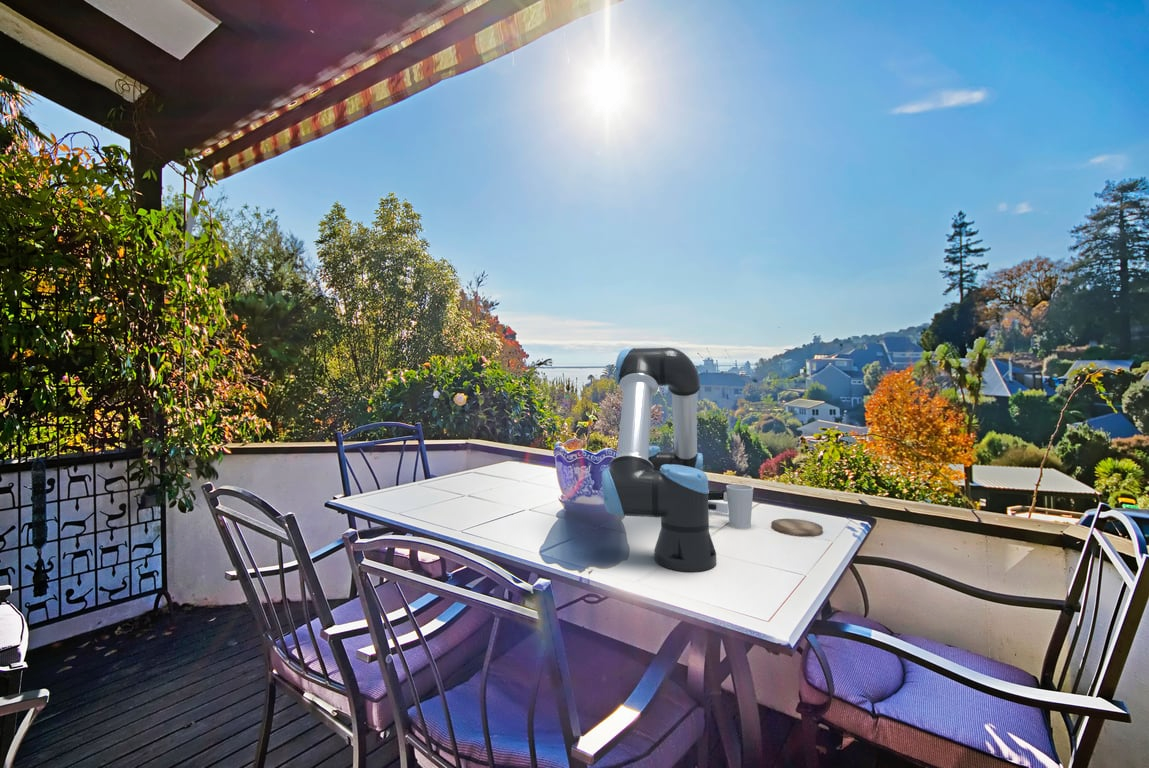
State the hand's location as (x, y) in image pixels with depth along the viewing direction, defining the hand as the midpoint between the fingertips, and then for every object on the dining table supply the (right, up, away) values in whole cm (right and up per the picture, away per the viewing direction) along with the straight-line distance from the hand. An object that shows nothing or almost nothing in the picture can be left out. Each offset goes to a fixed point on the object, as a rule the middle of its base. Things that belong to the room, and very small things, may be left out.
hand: (736, 503), depth 152 cm
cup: (+1, -7, -1) cm, 7 cm away
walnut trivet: (+16, -6, -6) cm, 18 cm away
